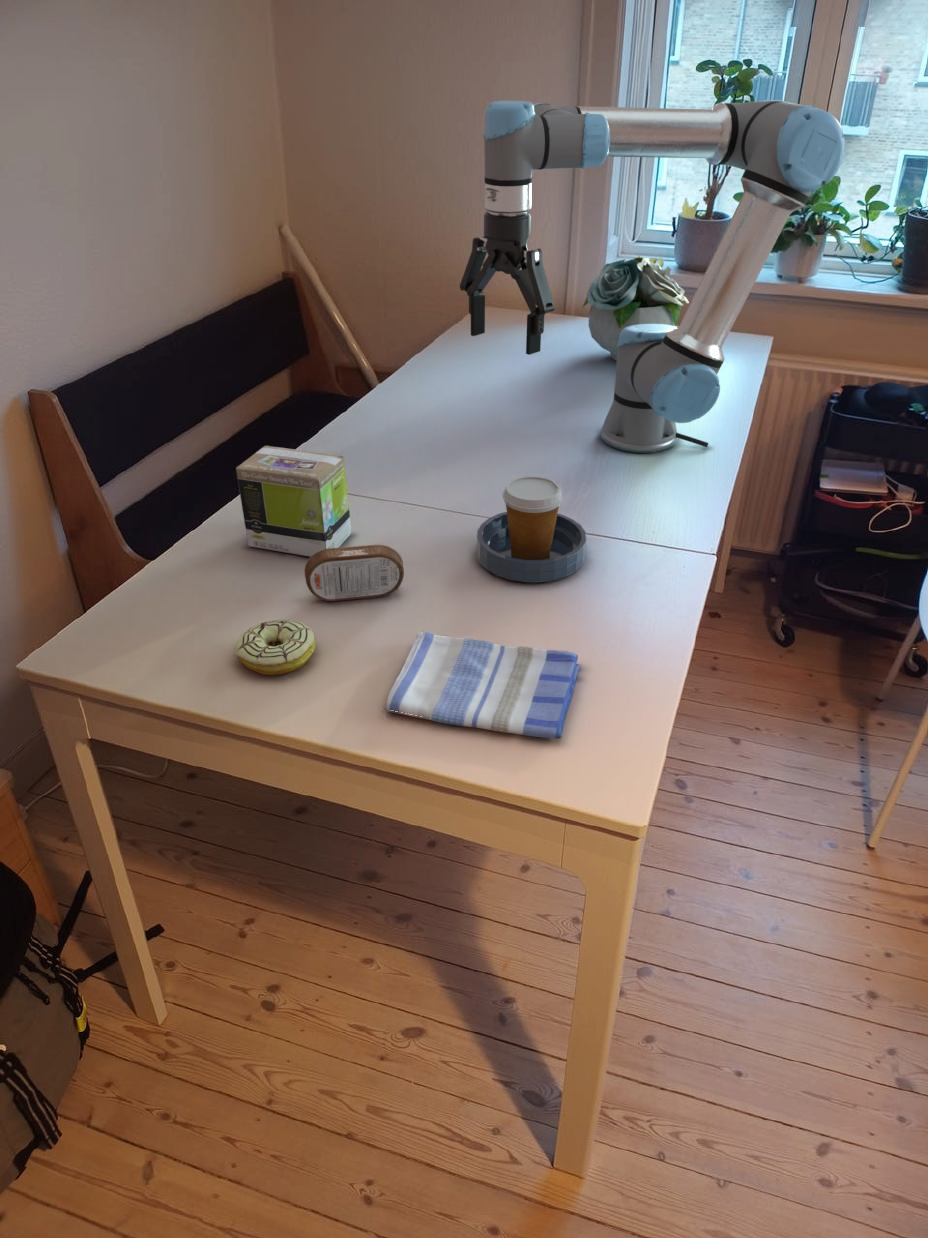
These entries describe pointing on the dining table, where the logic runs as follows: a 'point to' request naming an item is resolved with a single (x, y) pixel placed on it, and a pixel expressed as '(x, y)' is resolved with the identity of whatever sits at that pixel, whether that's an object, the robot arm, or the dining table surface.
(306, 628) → the decorated donut
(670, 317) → the flower arrangement
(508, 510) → the disposable coffee cup
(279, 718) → the dining table surface
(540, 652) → the dish towel
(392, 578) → the tin
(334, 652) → the dining table surface
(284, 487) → the tea box
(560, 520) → the bowl
